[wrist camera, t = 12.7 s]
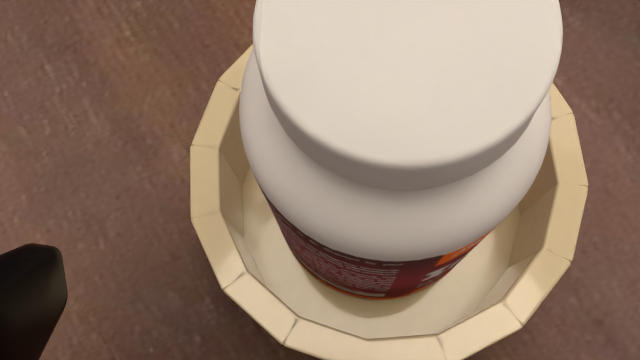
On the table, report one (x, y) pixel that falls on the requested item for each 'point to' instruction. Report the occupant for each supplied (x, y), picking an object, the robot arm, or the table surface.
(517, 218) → the shallow bowl
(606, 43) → the table surface
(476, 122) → the pill bottle
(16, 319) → the robot arm
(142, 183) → the table surface
